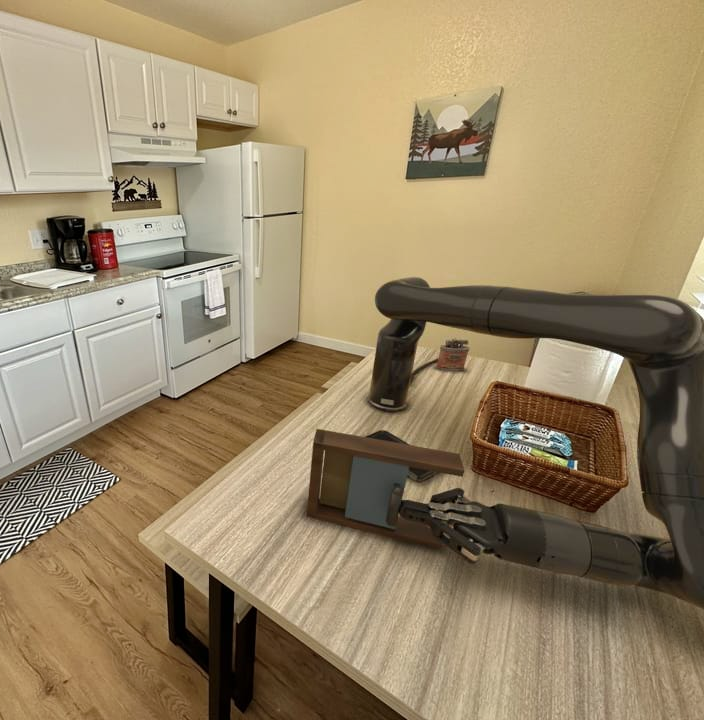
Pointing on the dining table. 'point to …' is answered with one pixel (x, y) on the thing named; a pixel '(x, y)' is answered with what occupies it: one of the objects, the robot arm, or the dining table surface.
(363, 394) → the dining table surface
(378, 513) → the closet door
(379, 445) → the frame
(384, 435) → the phone
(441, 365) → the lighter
